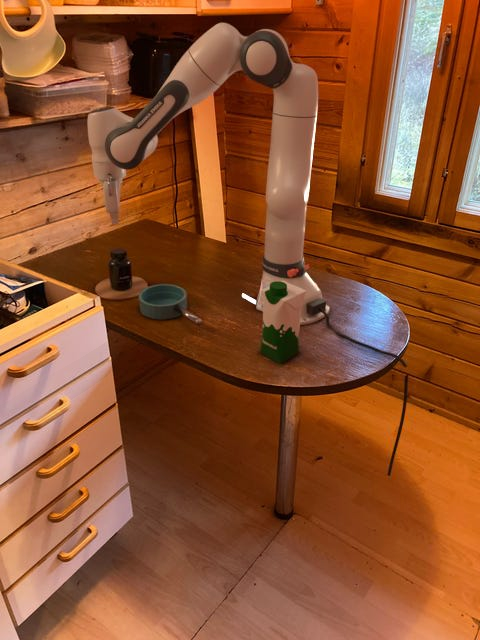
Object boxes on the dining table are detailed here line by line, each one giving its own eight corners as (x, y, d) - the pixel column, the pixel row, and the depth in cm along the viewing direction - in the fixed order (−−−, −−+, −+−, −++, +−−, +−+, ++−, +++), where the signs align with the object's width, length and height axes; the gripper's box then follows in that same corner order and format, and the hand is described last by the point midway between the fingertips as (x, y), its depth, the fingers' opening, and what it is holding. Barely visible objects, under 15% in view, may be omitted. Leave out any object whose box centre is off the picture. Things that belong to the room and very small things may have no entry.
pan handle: (203, 325, 137) (203, 319, 136) (197, 328, 135) (197, 321, 134) (177, 308, 144) (177, 302, 143) (172, 310, 143) (171, 304, 142)
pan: (196, 310, 148) (195, 296, 146) (156, 325, 140) (155, 311, 138) (170, 293, 157) (169, 280, 155) (131, 306, 149) (129, 293, 147)
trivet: (157, 289, 159) (157, 288, 158) (111, 305, 150) (110, 303, 149) (131, 272, 169) (131, 271, 169) (86, 286, 160) (86, 284, 160)
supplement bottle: (125, 293, 155) (121, 256, 149) (106, 289, 157) (101, 253, 151) (137, 284, 161) (133, 248, 155) (118, 280, 163) (114, 245, 157)
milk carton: (254, 352, 130) (257, 281, 120) (278, 339, 135) (283, 270, 125) (280, 367, 124) (285, 294, 114) (304, 353, 130) (311, 282, 120)
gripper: (120, 179, 133) (126, 229, 140) (121, 160, 150) (126, 206, 157) (95, 180, 132) (103, 231, 139) (99, 161, 149) (105, 207, 156)
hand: (115, 218), depth 148 cm, fingers open, 8 cm apart
